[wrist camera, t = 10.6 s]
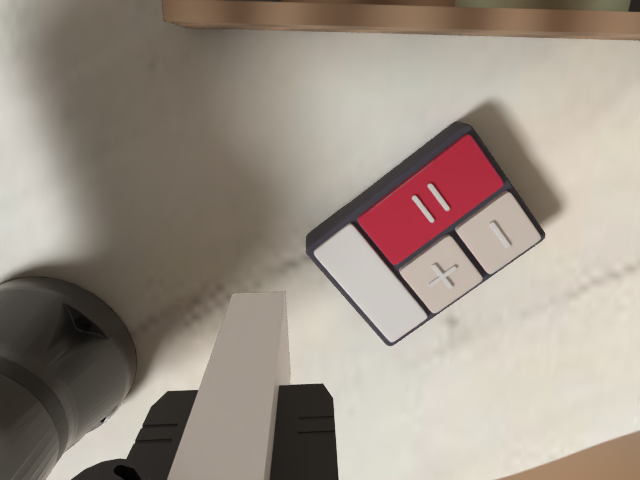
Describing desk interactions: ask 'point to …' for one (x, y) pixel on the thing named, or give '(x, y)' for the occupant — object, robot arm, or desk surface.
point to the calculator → (424, 234)
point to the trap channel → (418, 16)
